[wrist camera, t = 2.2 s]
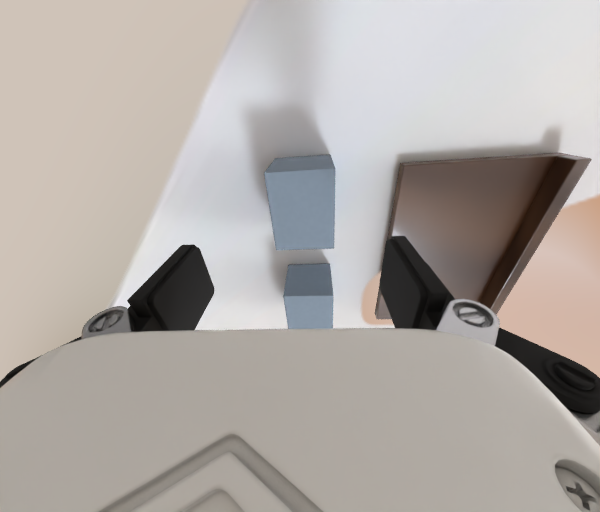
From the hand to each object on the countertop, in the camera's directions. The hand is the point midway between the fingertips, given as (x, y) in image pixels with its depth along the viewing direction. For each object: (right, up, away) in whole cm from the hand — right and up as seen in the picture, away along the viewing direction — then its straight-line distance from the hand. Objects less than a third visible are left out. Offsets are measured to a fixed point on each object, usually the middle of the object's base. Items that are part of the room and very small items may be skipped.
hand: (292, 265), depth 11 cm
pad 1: (+1, +6, +9) cm, 11 cm away
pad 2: (+2, -3, +15) cm, 15 cm away
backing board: (+15, +1, +11) cm, 19 cm away
